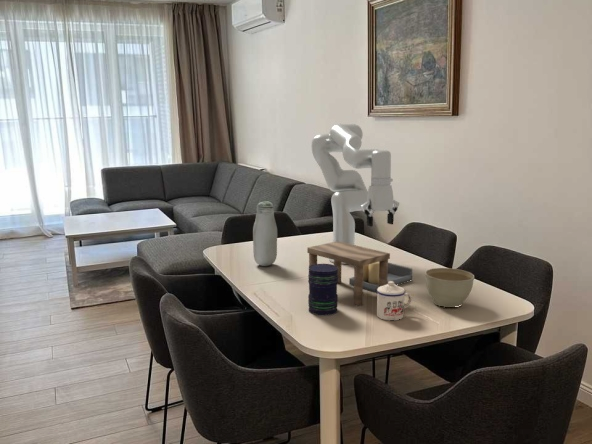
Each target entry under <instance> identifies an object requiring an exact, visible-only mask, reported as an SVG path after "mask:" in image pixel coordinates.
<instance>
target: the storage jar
mask: <svg viewBox="0 0 592 444" xmlns="http://www.w3.org/2000/svg"><path fill="white" fill-rule="evenodd" d="M307 277H308V278H307V279H308V290H309V291H308V293H309V294H308V297H307V298H308V300H307V302H308V304H307V305H308V312H309V314H312V315H316V316H325V317H326V316H333V315H335V314H336V313H338V303H339V300H338V298H339V297H338V284H339V283H338V267H337V266H335V265H334V264H331V263H317V264H314V265H311V266H309V265H308V276H307Z"/></svg>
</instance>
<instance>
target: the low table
mask: <svg viewBox="0 0 592 444" xmlns="http://www.w3.org/2000/svg"><path fill="white" fill-rule="evenodd" d="M306 250H307V251H306V252H307V253H308V267H309V266H311V265H314V264H318V257H322V258H326V259H332V260H334V263H333V265H335V266H337V267H338V284H342V265H343V264H342V262H343V263H347V265H352V266H353V267H354V269H353V270H354V272H353V273H354V276H353V277H354V286H353V305H354V306H356V305H357V306H358V307H359V305H361V306H362V305H363V303H364V301H363V300H364V299H363V298H364V297H363V296H364V295H363V292H364V289H363V266H364V265H368V264H372V263H376V262H379V287H380V286H384V285H386V284H387V277H388V263H389V259H390V258H391V253H390V252H386V251H381V250H377V249H372V248H368V247H365V246H364V247H363V246H359V245H355V244H354V245H352V244H348V243H344V242H339V241H336V242H333V241H332V242H327V243H323V244H318V245H313V246H308V247H307V249H306Z"/></svg>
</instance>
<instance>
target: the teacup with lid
mask: <svg viewBox="0 0 592 444" xmlns="http://www.w3.org/2000/svg"><path fill="white" fill-rule="evenodd" d="M376 293H377V295H376V297H377V299H376V316H377V318H379V319H381V320H384V321H390V320H394V321H400V320H402V319H403V318H404V316H405V315H404V314H405V313H404V311H405V309H407V308H408V307H410V305H411V303H412V300H413V298H412V295H411V294H410V293H409V292H408V293H407V292H406V290H405V289H404V287H402V286H400V285H395V284H394V282H393V281H389V282H388V284H386V285H384V286H380V287H379V288H378V289H377V292H376ZM405 296H406V297H408V299H407V300H408V301H407V302H406V304H405ZM399 319H400V320H399Z"/></svg>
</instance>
